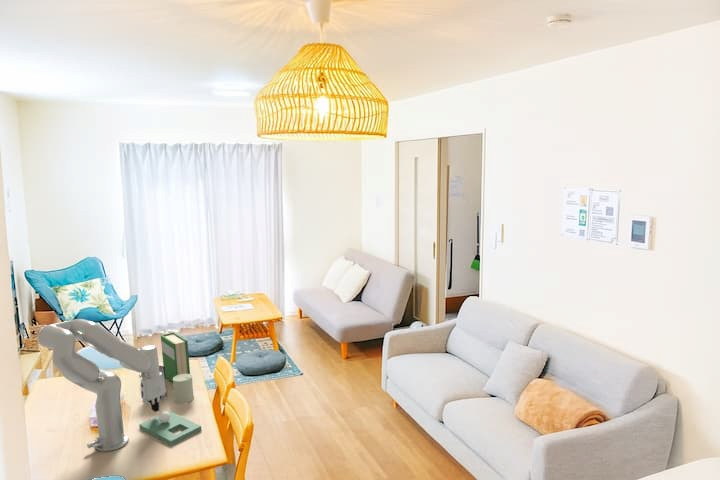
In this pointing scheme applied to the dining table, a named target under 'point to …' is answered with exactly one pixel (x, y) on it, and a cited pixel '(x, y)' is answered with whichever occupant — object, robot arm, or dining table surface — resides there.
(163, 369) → the coffee box
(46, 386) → the dining table surface
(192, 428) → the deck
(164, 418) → the ball
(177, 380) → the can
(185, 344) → the hardback book
